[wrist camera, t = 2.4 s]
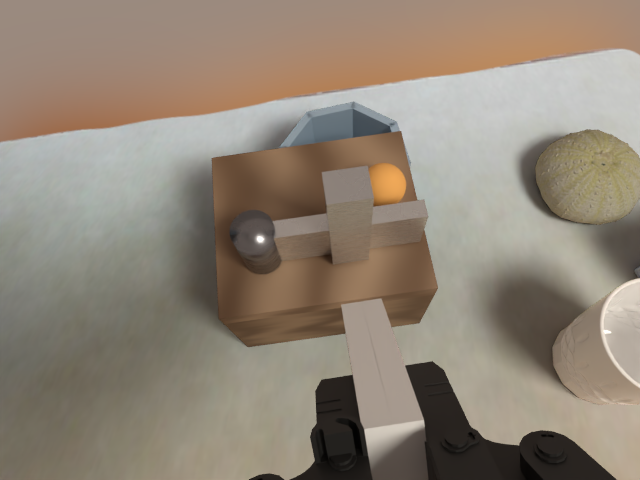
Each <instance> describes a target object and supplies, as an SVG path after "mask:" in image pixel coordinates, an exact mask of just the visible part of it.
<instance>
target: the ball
mask: <svg viewBox="0 0 640 480" xmlns="http://www.w3.org/2000/svg"><path fill="white" fill-rule="evenodd" d="M368 170H369V175H370V180H371V185H372V191H373V196H374V203H373V206H374V207H375V206H382V205H389V204H396V203H398V202H399V201H400V200H401V199H402V198H403V196H404V194H405V191H406V180H405V177H404V175H403V173H402V172H401V170H400V169H399V168H397V167H396V166H394V165H392V164H389V163H378V164H375V165H373V166H371V167H370V168H369V169H368Z"/></svg>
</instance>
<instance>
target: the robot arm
mask: <svg viewBox="0 0 640 480" xmlns="http://www.w3.org/2000/svg"><path fill="white" fill-rule="evenodd" d="M341 307H342V314H343V320H344V326H345V332H346V339H347V345H348V351H349V357H350V364H351V370H352V375H349V376H343V377H337V378H330V379H324V380H321V382H320V384H319V385H318V387H317V389H316V391H315V392H316V413H317V415H316V416H317V424H316V425H315V427H314V428H313V429H312V432H311V436H310V438H311V443H312V448H313V453H314V458H315V462H314V463H313V464H312V466H311V467H310V468H309V469H308V470H307V471H305V472H304V473H302V474H301V475H299V476H297V477H295V478H293V479H290V480H616V479H615V478H614V477H613V476H612V475H611V474H610V473H608V472H607V471H606V470H605V469H604V468H603V467H602V466H601V465H599V464H598V463H597V462H596V461H595V460H594V459H593V458H592V457H590V456H589V455H588V454H587V453H586V452H585V451H584V450H583V449H581V448H580V447H579V446H578V445H577V444H576V443H575V442H573V441H572V440H570V439H569V438H567V437H566V436H564V435H561V434H559V433H556V432H552V431H536V432H531V433H529V434H527V435H526V436H524V437H523V438H522V440H521V442H520V444H519V445H520V446H518V445H508V444H500V443H495V442H492V441H489V440H486V439H484V438H483V437H482V436H481V435H480V434H479V432H478V431H477V430H475V429H473V428H472V427H471V426H470V425H469V422H468V420H467V418H466V416H465V414H464V412H463V410H462V408H461V406H460V403H459V401H458V399H457V397H456V395H455V393H454V392H453V389H452V387H451V385H450V383H449V380H448V378H447V376H446V374H445V372H444V370H443V369H442V368H440V367H439V366H438V365H436V364H435V363H434V362H433V361H432V362H426V363H419V364H413V365H406V366H405V364H404V361H403V359H402V356H401V353H400V350H399V347H398V344H397V341H396V339H395V336H394V333H393V330H392V327H391V324H390V322H389V319H388V316H387V313H386V310H385V307H384V304H383V302H382V299H381V298H380V299H373V300H367V301H361V302H355V303H348V304H342V305H341ZM249 480H284V479H283V478H281V477H280V476H279V475H274V474H262V475H258V476H256V477H253V478H251V479H249Z"/></svg>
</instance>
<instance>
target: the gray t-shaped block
mask: <svg viewBox="0 0 640 480" xmlns="http://www.w3.org/2000/svg"><path fill="white" fill-rule="evenodd" d="M322 180H323V188H324V197H325V206H326V214H319V215H312V216H305V217H298V218H291V219H284V220H277V221H272V219H271V218H270V217H269V216H268V215H267V214H266V213H264V212H262V211H259V210H248V211H244V212H242V213H241V214H239V215H238V216H237V217H236V218H235V219H234V220H233V221H232V223H231V226H230V230H229V234H230V238H231V240H232V242H233V244H234V246H235V247H236V249H237V251H238V252H239V254H240V256H241V258H242V259H243V261H244V263H245V264H246V266H247V267H248V269H249V270H251V271H252V272H254V273H256V274H269V273H271V272H273V271H275V270H276V269H277V268H278V267H279V266H280V264H281V263H282V261H286V260H293V259H300V258H307V257H314V256H321V255H328V254H332V261H333V265H334V264H341V263H349V262H356V261H363V260H369V251H370V249H371V248H378V247H385V246H392V245H399V244H406V243H413V242H420V240H421V237H422V234H423V231H424V228H425V225H426V222H427V219H428V213H427V209H426V205H425V201H424V200H418V201H411V202H403V203H396V204H389V205H382V206H375V207H373V203H374V196H373V191H372V185H371V180H370V175H369V170H368V166H361V167H354V168H347V169H340V170H333V171H326V172H322Z"/></svg>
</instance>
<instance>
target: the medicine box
mask: <svg viewBox="0 0 640 480" xmlns="http://www.w3.org/2000/svg"><path fill="white" fill-rule="evenodd" d="M634 271H635V274H636V275H637V277H638V278H640V266H639V267H638V268H636V269H635V270H634Z"/></svg>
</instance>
